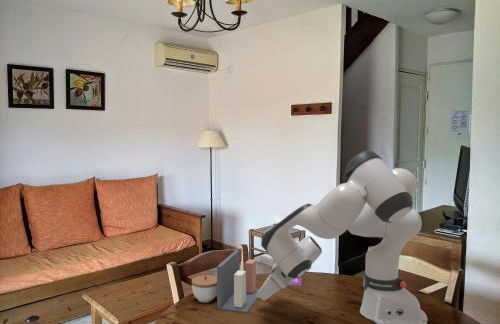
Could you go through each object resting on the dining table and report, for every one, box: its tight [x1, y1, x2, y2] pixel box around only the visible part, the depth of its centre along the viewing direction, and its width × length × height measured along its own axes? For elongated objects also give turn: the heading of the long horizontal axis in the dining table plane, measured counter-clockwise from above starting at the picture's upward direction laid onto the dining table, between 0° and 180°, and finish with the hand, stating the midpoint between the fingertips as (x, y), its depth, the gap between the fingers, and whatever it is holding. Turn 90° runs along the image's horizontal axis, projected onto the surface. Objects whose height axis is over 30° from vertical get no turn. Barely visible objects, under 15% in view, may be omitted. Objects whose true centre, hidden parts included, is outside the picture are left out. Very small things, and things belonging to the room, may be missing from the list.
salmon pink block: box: [244, 258, 257, 293], centre depth 162 cm, size 3×5×12 cm, turn 164°
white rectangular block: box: [234, 269, 246, 308], centre depth 148 cm, size 3×5×12 cm, turn 164°
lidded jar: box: [191, 274, 217, 303], centre depth 156 cm, size 11×11×9 cm
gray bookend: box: [216, 249, 260, 314], centre depth 156 cm, size 12×22×16 cm, turn 164°
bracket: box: [288, 276, 303, 286], centre depth 177 cm, size 13×6×7 cm, turn 1°
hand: (257, 295), depth 146 cm, fingers closed
